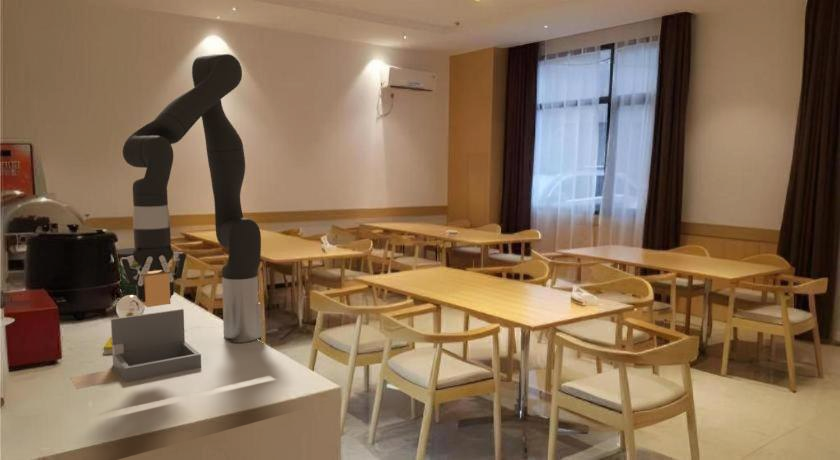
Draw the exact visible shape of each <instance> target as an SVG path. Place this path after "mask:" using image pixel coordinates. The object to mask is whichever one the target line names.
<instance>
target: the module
mask: <svg viewBox="0 0 840 460" xmlns="http://www.w3.org/2000/svg"><path fill="white" fill-rule="evenodd" d="M143 285H144V286H145V302H141V303H143V304H144V305H145V307H146V308H150V307H157V306H164V305H171V302H172V301H171V298H170V281H169V273H164V272H162V271H161V270H153V271H148V274H147V275H146V276H144V284H143Z"/></svg>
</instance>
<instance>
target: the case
mask: <svg viewBox="0 0 840 460" xmlns="http://www.w3.org/2000/svg"><path fill="white" fill-rule="evenodd" d="M184 310H185V309H184V308H180V309H171V310H165V311H158V312H153V313H152V312H151V313H150V312H149V313H143V314H142V315H135V316H128V317H121V318H120V317H116V318H110V327H111V328H110V329H111V330H110V331H111V337H112V353H113V354H112V366H113V367H114V369H115V370H116V371H117V373H118V374H119V375H120V376H121V378H122V379H123V380H124V382H125V383H129V382H135V381H139V380H143V379H144V380H145V379H149V378H153V377H158V376H159V377H160V376H163V375H168V374H169V375H170V374H174V373H178V372H183V371H184V372H185V371H188V370H192V369H198V368H201V367H202V354H201V353H200V352H199V351H197V350H196V349H195V348H194V347H192V346H191V345H190V343H188V342H187V341H185V338H186V337H185V315H184V314H185V311H184Z"/></svg>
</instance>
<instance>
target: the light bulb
mask: <svg viewBox="0 0 840 460" xmlns="http://www.w3.org/2000/svg"><path fill="white" fill-rule="evenodd" d="M145 307H146V306H145V305H144V304H143V303H141V301H140V300H139V299H138V298H137V296H136V295H126V296H124V297H122V298H121V299H120V300H119V301H118V303H116V307H115V309H116V314H117V316H118V318H121V317H128V316H135V315H142V314H145V313H144V312H145Z"/></svg>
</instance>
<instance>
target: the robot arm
mask: <svg viewBox="0 0 840 460" xmlns="http://www.w3.org/2000/svg"><path fill="white" fill-rule="evenodd" d="M191 67H192V68H191V77H192V82H193V87H192V88H191V89H190V90H188V91H186V92H184V93H183V94H181V95H180V96H178V97H176V98H175V99H174V100H172V101H170V103H169V104H167V105H166V107H164V109H163V110H162V111H161V112H160V113H159V114H158V115H157V116H156V117H155V119H154V120H152V121H150V122H148V123H146V124H145V125H143V126H142V127H140V128H139V129H138V130H136V131H134V132H133V133H132V134H131V135H130V136H128V137H127V139H126V140H125V142H124V144H123V147H122V157H123V159H124V161H125V162H126V163H127V164H128V165H130V166H132V167H135V168H143V169H144V168H146V169H145V173H144V176H143V178H139V179H136V180H135V181H133V183H132V201H133V203H132V204H133V209H132V212H133V213H132V223H133V224H132V226H133V244H134V248H135V250H134V253H133V255H132V256H129V257H126V258H124V257H122V258H120V263H121V266H122V269H123V272H124V275H125V278H126V281H127V282H128V283H129V284H134V285H136V292H137V298H138V299H139V300H140V301H141V302H145V286H144V285H143V284H144V276H146V275H147V274H148V272H150V271H160V270H161V271H162V272H164V273H169V281H170V299H172V296H174V294H175V288H174V284H175V283H174V282H175V281H176V280H178V279H181V278H182V276H183V272H184V267H185V263H186V256H187V254H186V253H184V252H182V251H179V252H178V251H174V250H173V249H172V241H171V240H172V239H171V217H170V211H169V205H168V203H169V202H168V184H169V180H170V176H171V172H172V167H173V163H174V150H173V147H172V145H174V144H176V143H177V144H178V142H180V141H181V140H182V139H184V137H185V135H187V134H188V132H189V131H190V130H191V128H193V126H194V125H195V124H196V123H197V121H199V119H200V118H201V121H202V122H201V123H202V126H203V133H204V138H205V146H206V147H205V148H206V156H207V162H208V168H209V169H208V170H209V172H210V181H211V188H212V192H213V199H214V200H213V201H214V202H213V203H214V217H215V218H214V221H215V222H214V223H215V225H214V226H215V236H216V239H217V241H218V244H219V245H220V246H221V247H222V248H224V249H226V250H228V260H227V263H226V264H224V265H223V266H222V268H221V277H222V278H221V280H222V281H221V282H222V286H221V287H222V289H221V290H222V318H223V322H222V323H223V325H222V326H223V339H224V340H226V341H227V342H229V343H238V344H239V343H248V342H252V341H255V340H257V339H260V338H262V337H263V335H262V329H263V328H262V304H261V302H259V290H258V289H259V282H258V281H259V280H258V279H259V278H258V272H259V271H258V270H259V268H260V265H261V259H262V257H261V253H262V236H261V235H262V234H261V230H260V227H259V225H258V223H257V222H256V221H254V220H253V219H251V218H249V217H248V218H246V217H244V216H243V215H244V214H243V208H242V203H241V190H242V186H243V182H244V179H245V173H246V157H245V150H244V146H243V145H244V144H243V141H242V139H241V136H240V134H239V133H238V132H237V129H236V128H234V126H233V124H232V123H231V121H230V120H229V118H228V117H227V115H226V113H225V110H224V107H223V105H222V99H223V98H225V97H226V96H227V95H228V94H229V93H232V92H233V91H234V90H236V88H237V87H238V86H239V85H240V84H241V81H242V76H243V69H242V65H241V63H240V61H239V60H238V59H237V57H235V56H234V55H232V54H230V53H224V52H223V53H214V54H206V55H200V56H197V57H196V58H195V59H194V61H193V63H192V66H191ZM172 258H173V260H174V261H175V264H174V268H173V269H174V270H173V273H172V272H171V268H170V266H169V262H170V261H171V260H172ZM133 260H135V261H136V262H137V263H138V264H139V265H140V266H139V269H138V274H137V277H136V279H135V278H134V277H133V274H132V271H131V268H130V266H132V262H133Z"/></svg>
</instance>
